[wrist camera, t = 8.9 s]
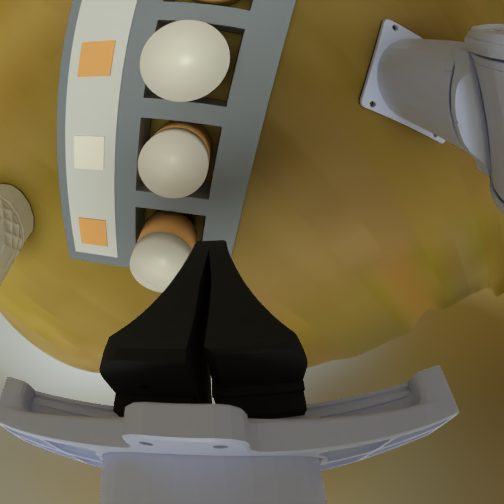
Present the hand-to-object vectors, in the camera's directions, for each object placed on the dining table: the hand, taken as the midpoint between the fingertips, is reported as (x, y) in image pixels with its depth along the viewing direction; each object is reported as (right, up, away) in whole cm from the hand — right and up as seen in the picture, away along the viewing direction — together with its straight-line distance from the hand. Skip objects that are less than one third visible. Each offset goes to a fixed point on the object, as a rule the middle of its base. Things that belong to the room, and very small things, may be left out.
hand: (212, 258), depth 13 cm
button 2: (-2, +12, +1) cm, 12 cm away
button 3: (-3, +8, +6) cm, 11 cm away
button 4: (-5, +2, +9) cm, 10 cm away
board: (-5, +11, +4) cm, 13 cm away
